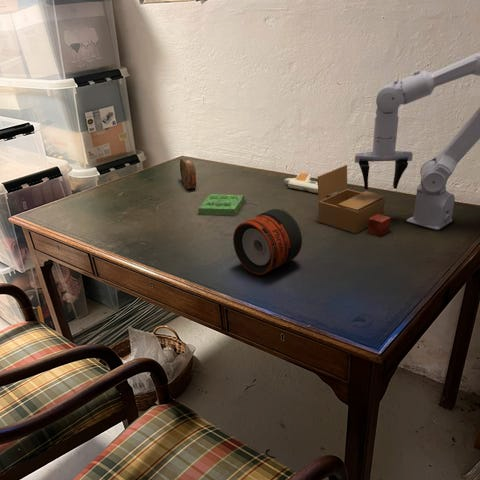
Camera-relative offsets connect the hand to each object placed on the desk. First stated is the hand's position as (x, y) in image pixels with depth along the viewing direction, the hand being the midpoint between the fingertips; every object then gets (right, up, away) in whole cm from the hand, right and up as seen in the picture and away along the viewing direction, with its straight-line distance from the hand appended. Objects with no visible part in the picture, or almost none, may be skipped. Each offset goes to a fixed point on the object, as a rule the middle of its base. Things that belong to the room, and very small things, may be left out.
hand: (380, 187), depth 138 cm
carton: (-7, -8, +5) cm, 12 cm away
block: (-1, -12, -2) cm, 13 cm away
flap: (-12, +3, +4) cm, 13 cm away
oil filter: (-31, -23, -14) cm, 41 cm away
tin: (-56, +11, +39) cm, 69 cm away
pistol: (-14, +8, +30) cm, 33 cm away
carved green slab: (-44, -1, +20) cm, 48 cm away
